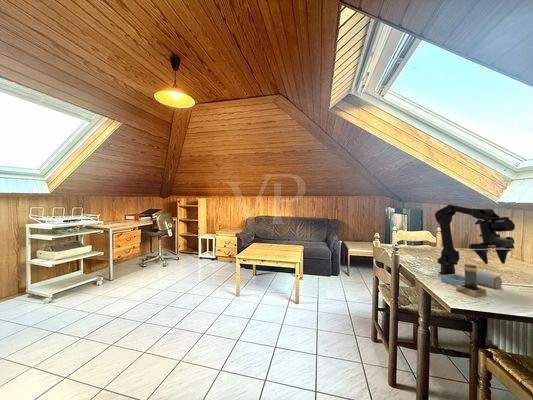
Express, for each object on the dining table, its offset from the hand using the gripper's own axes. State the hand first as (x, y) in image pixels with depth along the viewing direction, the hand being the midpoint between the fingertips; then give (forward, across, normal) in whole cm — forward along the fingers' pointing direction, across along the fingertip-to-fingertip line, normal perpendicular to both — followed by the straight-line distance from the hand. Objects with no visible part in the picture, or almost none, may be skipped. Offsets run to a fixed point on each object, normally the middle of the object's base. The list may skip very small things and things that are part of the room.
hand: (494, 263), depth 115 cm
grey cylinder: (+13, +4, +9) cm, 16 cm away
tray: (+12, -11, +12) cm, 20 cm away
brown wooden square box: (+14, -16, 0) cm, 21 cm away
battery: (+13, -16, 0) cm, 21 cm away
